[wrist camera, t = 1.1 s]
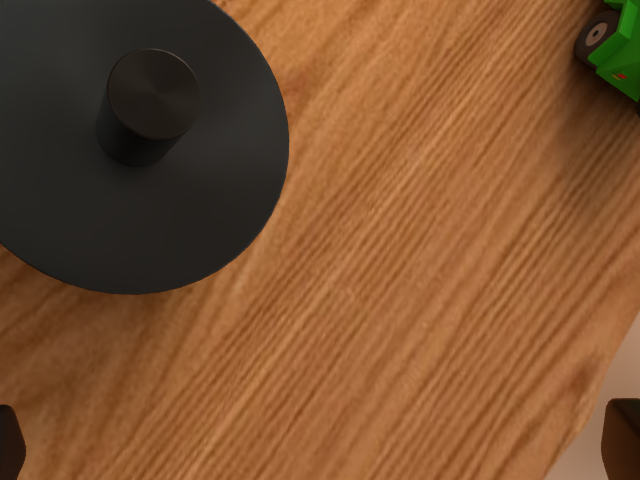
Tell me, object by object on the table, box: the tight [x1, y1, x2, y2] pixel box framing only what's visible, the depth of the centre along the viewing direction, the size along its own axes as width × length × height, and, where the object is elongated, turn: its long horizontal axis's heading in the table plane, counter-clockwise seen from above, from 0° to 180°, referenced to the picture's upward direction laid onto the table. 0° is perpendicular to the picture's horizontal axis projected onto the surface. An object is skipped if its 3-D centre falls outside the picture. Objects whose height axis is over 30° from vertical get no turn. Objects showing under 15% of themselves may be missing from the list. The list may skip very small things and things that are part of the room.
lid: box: [0, 0, 289, 295], centre depth 18 cm, size 11×11×5 cm
